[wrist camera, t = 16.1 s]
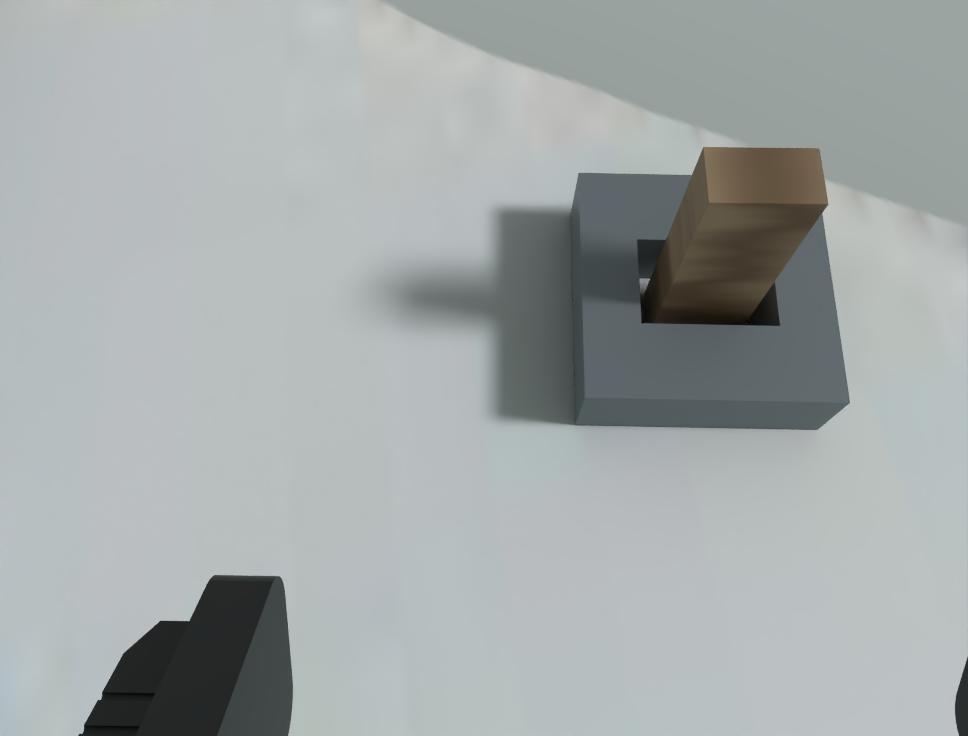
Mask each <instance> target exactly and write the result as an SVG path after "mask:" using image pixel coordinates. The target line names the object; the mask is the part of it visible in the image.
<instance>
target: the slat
mask: <svg viewBox="0 0 968 736" xmlns="http://www.w3.org/2000/svg"><path fill="white" fill-rule="evenodd" d="M827 205H828V199H827V193H826V187H825V181H824V175H823V168H822V163H821V156H820V150H819V149H816V148H815V149H814V148H728V147H703V149H702V152H701V154H700V157H699V159H698V162H697V164H696V167H695V169H694V172H693V174H692V177H691V179H690V182H689V184H688V187H687V189H686V192H685V194H684V197H683V199H682V202H681V204H680V206H679V209H678V211H677V214H676V216H675V219H674V221H673V224H672V226H671V229H670V231H669V234H668V236H667V239H666V241H665V244H664V246H663V249H662V251H661V254H660V256H659V259H658V261H657V264H656V266H655V268H654V271H653V273H652V276H651V278H650V281H649V283H648V286H647V288H646V291H645V293H644V296H643V303H644V317H645V323H650V324H702V325H745V324H746V322H747V321H748V319H749V318H750V316H751V315H752V314H753V312H754V311H755V309H756V308H757V306H758V305H759V303H760V302H761V301H762V299H763V298H764V296H765V295H766V293H767V292H768V290H769V289H770V288H771V286H772V285H773V283H774V282H775V280H776V279H777V277H778V276H779V275H780V273H781V272H782V270H783V269H784V267H785V266H786V264H787V263H788V262H789V260H790V259H791V257H792V256H793V254H794V253H795V251H796V250H797V249H798V247H799V246H800V244H801V243H802V241H803V240H804V238H805V237H806V235H807V234H808V233H809V231H810V230H811V228H812V227H813V225H814V224H815V222H816V221H817V220H818V218H819V217H820V215H821V214H822V212H823V211H824V209H825V208H826V207H827Z"/></svg>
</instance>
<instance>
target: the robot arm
mask: <svg viewBox="0 0 968 736" xmlns="http://www.w3.org/2000/svg"><path fill="white" fill-rule="evenodd" d="M292 699H293V681H292V669H291V657H290V646H289V634H288V622H287V611H286V599H285V590H284V584H283V581H282V579H281V577H279V576H233V575H214V576H213V577H212V578H211V579H210V580H209V582H208V584H207V585H206V588H205V590H204V592H203V594H202V596H201V598H200V600H199V602H198V604H197V607H196V609H195V611H194V613H193V615H192V617H191V619H190V621H160V622H159V623H158V624H157V625H155V626H154V627H153V628H152V629H151V630H150V631H149V632H147V633H146V634H145V635H144V636H143V637H142V638H141V639H139V640H138V641H137V642H136V643H135V644H134V645H133V646H131V647H130V648H129V649H128V650H127V651H126V652H125V653H124V654H123V656H122V657H121V659H120V661H119V663H118V665H117V666H116V668H115V670H114V672H113V674H112V676H111V677H110V679H109V681H108V683H107V685H106V686H105V688H104V690H103V692H102V699H101V700H98V701H97V703H96V705H95V706H94V708H93V710H92V712H91V714H90V716H89V717H88V719H87V721H86V723H85V725H84V732H83V734H79V736H288V733H289V727H290V721H291V712H292ZM955 716H956V724H957V729H958V733H959V736H968V658H967V661H966V664H965V668H964V671H963V674H962V678H961V681H960V684H959V688H958V691H957V695H956V701H955Z"/></svg>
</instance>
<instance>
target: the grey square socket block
mask: <svg viewBox="0 0 968 736" xmlns="http://www.w3.org/2000/svg"><path fill="white" fill-rule="evenodd" d="M691 177H692V175H655V174H605V173H579V174H578V179H577V184H576V190H575V195H574V200H573V205H572V210H571V257H572V300H573V342H574V385H575V425H603V426H655V427H708V428H761V429H814V430H818V429H819V428H820V427H821V426H823V425H824V424H825V423H826V422H827V421H829V420H830V419H831V418H832V417H833V416H835V415H836V414H837V413H838V412H839V411H841V410H842V409H843V408H844V407H845V406H847V405H848V404H849V403H850V400H849V393H848V386H847V380H846V373H845V366H844V359H843V352H842V345H841V339H840V332H839V325H838V318H837V311H836V304H835V298H834V291H833V284H832V277H831V270H830V264H829V257H828V250H827V243H826V236H825V229H824V223H823V216H822V214H821V215H820V217H819V218H818V220H817V221H816V222H815V224H814V225H813V227H812V228H811V230H810V231H809V233H808V234H807V235H806V237H805V238H804V240H803V241H802V243H801V244H800V246H799V247H798V249H797V250H796V251H795V253H794V254H793V256H792V257H791V259H790V260H789V262H788V263H787V264H786V266H785V267H784V269H783V270H782V272H781V273H780V275H779V276H778V277H777V279H776V280H775V282H774V283H773V285H772V286H771V288H770V289H769V290H768V292H767V293H766V295H765V296H764V298H763V299H762V301H761V302H760V303H759V305H758V306H757V308H756V309H755V311H754V312H753V314H752V315H751V316H750V319H751V325H702V324H650V323H642V322H641V304H640V286H639V278H651V276H652V273H653V271H654V268H655V266H656V264H657V261H658V259H659V256H660V254H661V251H662V249H663V246H664V244H665V241H666V239H667V236H668V234H669V231H670V229H671V226H672V224H673V221H674V219H675V216H676V214H677V211H678V209H679V206H680V204H681V202H682V199H683V197H684V194H685V192H686V189H687V187H688V184H689V182H690V179H691Z"/></svg>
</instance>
